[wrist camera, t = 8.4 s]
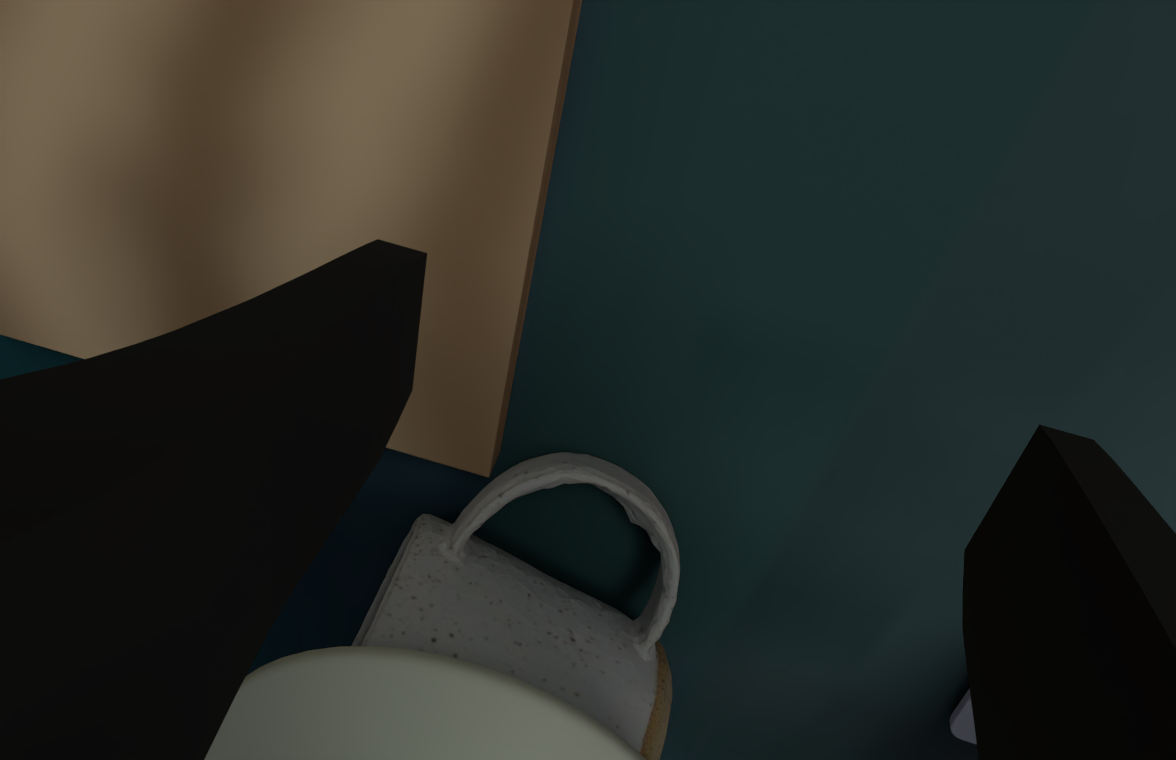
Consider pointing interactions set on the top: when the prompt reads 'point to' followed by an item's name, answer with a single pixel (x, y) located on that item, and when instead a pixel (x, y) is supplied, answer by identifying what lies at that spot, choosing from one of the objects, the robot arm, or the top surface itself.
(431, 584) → the ceramic mug
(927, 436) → the top surface
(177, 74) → the trivet
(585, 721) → the lid
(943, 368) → the top surface
